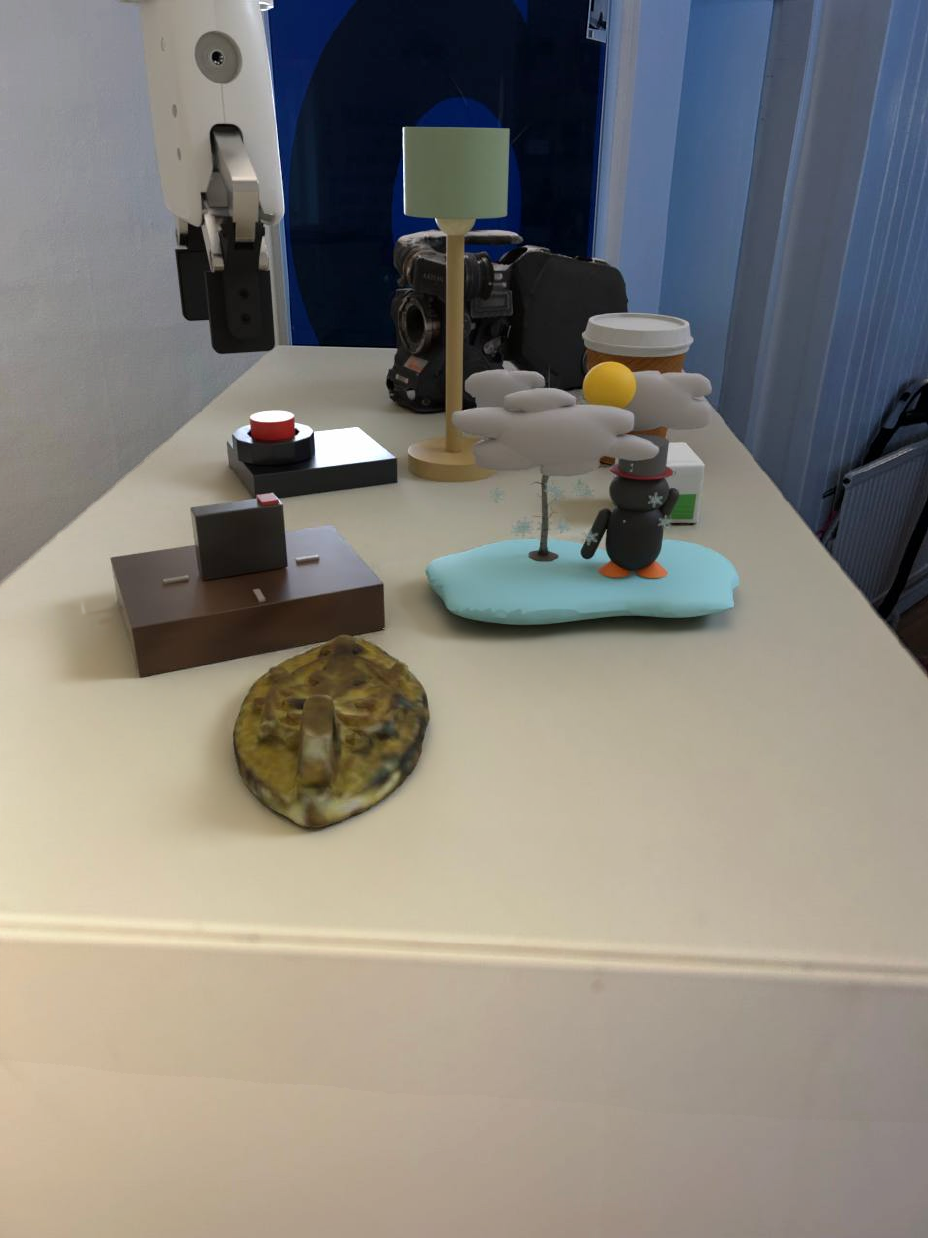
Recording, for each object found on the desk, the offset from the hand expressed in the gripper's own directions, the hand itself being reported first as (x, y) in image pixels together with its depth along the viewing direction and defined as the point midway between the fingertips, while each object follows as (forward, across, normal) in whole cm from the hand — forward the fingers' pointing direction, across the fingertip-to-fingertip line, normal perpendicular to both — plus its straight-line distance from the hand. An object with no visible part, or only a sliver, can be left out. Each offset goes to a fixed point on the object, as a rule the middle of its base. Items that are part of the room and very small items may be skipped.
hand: (226, 333), depth 53 cm
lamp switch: (+12, +20, -7) cm, 25 cm away
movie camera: (+16, +39, -36) cm, 56 cm away
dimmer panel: (+16, -4, +1) cm, 16 cm away
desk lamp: (+16, +18, -22) cm, 32 cm away
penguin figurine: (+16, -10, -19) cm, 27 cm away
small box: (+16, +2, -32) cm, 36 cm away
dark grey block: (+13, -4, +1) cm, 13 cm away
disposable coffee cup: (+16, +15, -38) cm, 44 cm away
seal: (+16, -18, 0) cm, 24 cm away
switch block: (+16, +20, -10) cm, 28 cm away
